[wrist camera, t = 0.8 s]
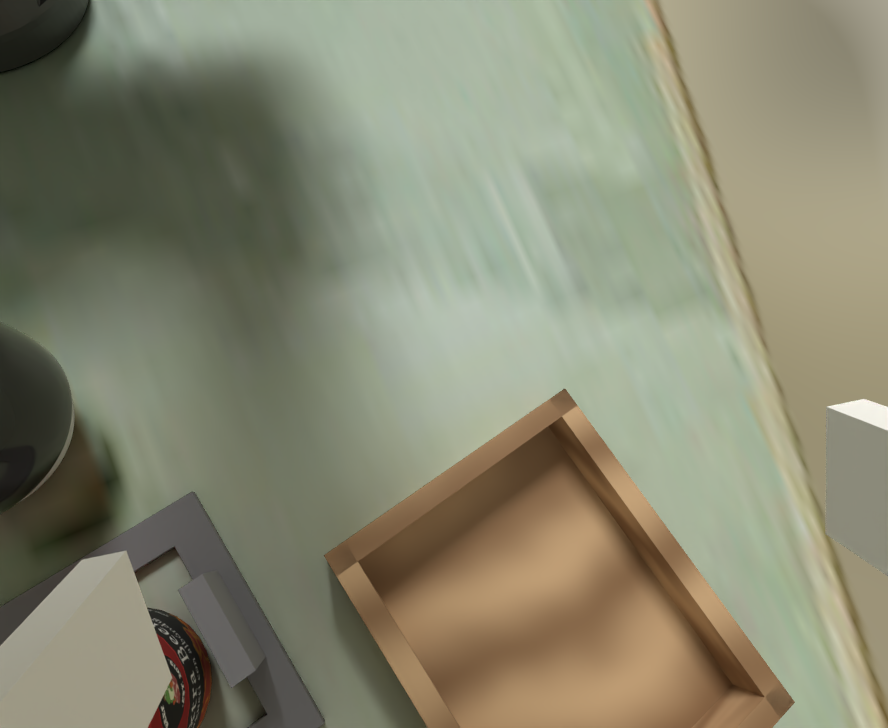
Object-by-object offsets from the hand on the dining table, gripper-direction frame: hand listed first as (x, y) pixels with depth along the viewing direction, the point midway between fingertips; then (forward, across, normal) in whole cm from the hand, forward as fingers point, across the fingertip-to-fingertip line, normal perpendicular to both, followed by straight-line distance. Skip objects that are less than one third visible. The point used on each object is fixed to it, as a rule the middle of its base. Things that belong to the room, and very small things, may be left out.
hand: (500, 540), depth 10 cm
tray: (+17, +4, -16) cm, 24 cm away
